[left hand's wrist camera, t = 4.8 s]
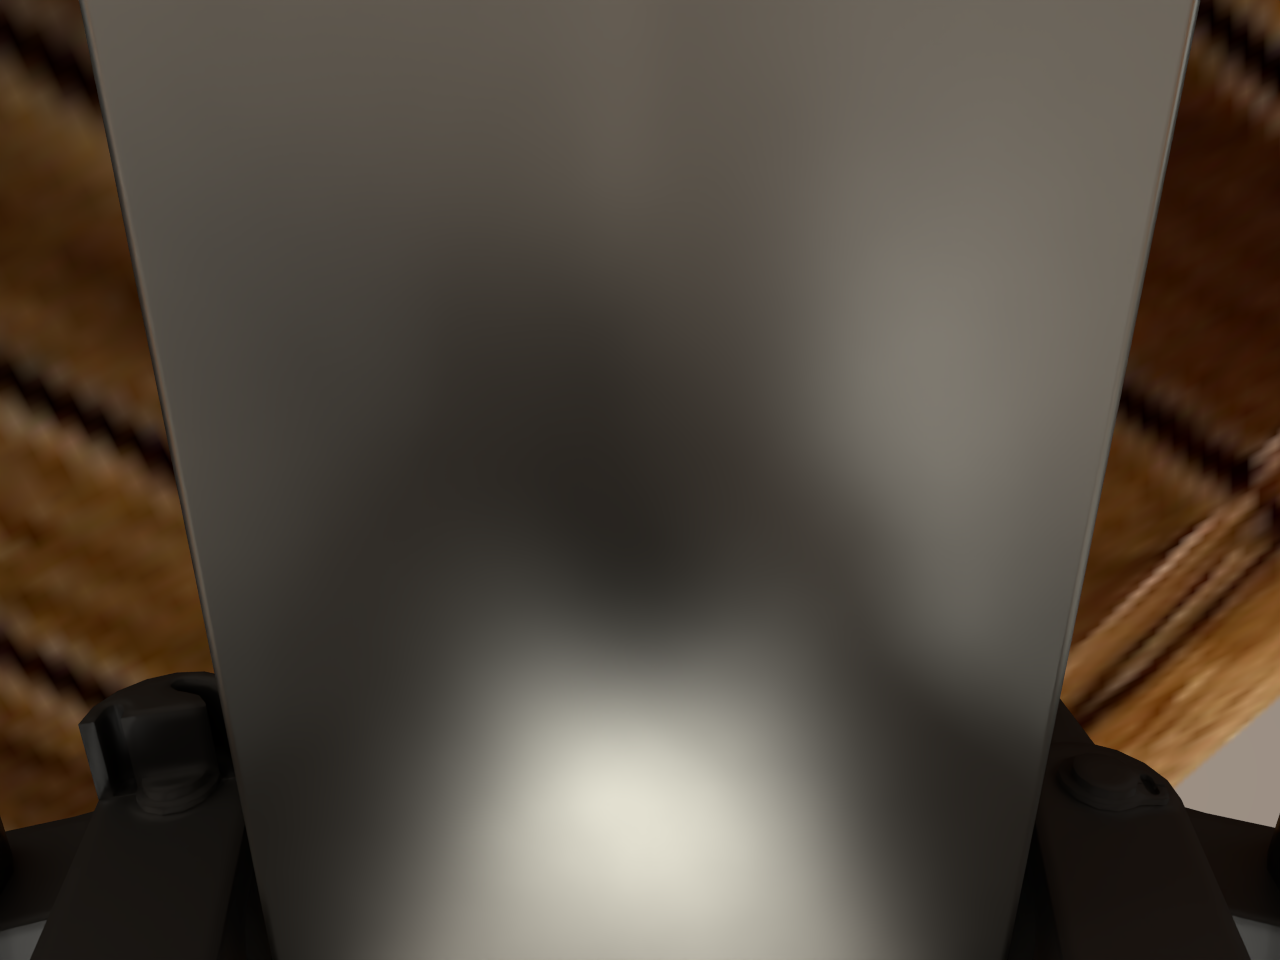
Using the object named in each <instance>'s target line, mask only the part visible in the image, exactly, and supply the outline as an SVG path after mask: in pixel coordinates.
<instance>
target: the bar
mask: <svg viewBox="0 0 1280 960" xmlns="http://www.w3.org/2000/svg"><path fill="white" fill-rule="evenodd" d="M79 3H80V8H81V13H82V18H83V23H84V28H85V33H86V38H87V43H88V48H89V53H90V57H91V62H92V67H93V72H94V77H95V82H96V87H97V92H98V97H99V102H100V107H101V112H102V117H103V122H104V127H105V132H106V137H107V142H108V147H109V152H110V157H111V162H112V167H113V172H114V177H115V181H116V186H117V191H118V196H119V201H120V206H121V211H122V216H123V221H124V226H125V231H126V236H127V241H128V246H129V251H130V256H131V261H132V266H133V271H134V276H135V281H136V286H137V291H138V296H139V300H140V305H141V310H142V315H143V320H144V325H145V330H146V335H147V340H148V345H149V350H150V355H151V360H152V365H153V370H154V375H155V380H156V385H157V390H158V395H159V400H160V405H161V410H162V415H163V420H164V424H165V429H166V434H167V439H168V444H169V449H170V454H171V459H172V464H173V469H174V474H175V479H176V484H177V489H178V494H179V499H180V504H181V509H182V514H183V519H184V524H185V529H186V534H187V539H188V544H189V548H190V553H191V558H192V563H193V568H194V573H195V578H196V583H197V588H198V593H199V598H200V603H201V608H202V613H203V618H204V623H205V628H206V633H207V638H208V643H209V648H210V653H211V658H212V663H213V667H214V672H215V677H216V682H217V687H218V692H219V697H220V702H221V707H222V712H223V717H224V722H225V727H226V732H227V737H228V742H229V747H230V752H231V757H232V762H233V767H234V772H235V777H236V782H237V787H238V791H239V796H240V801H241V806H242V811H243V816H244V821H245V826H246V831H247V836H248V841H249V846H250V851H251V856H252V861H253V866H254V871H255V876H256V881H257V886H258V891H259V896H260V901H261V906H262V910H263V915H264V920H265V925H266V930H267V935H268V940H269V945H270V950H271V955H272V960H1007V958H1008V953H1009V948H1010V943H1011V938H1012V933H1013V928H1014V923H1015V918H1016V913H1017V908H1018V903H1019V898H1020V893H1021V888H1022V883H1023V878H1024V873H1025V868H1026V863H1027V858H1028V853H1029V848H1030V843H1031V839H1032V834H1033V829H1034V824H1035V819H1036V814H1037V809H1038V804H1039V799H1040V794H1041V789H1042V784H1043V779H1044V774H1045V769H1046V764H1047V759H1048V754H1049V749H1050V744H1051V739H1052V734H1053V729H1054V724H1055V719H1056V714H1057V709H1058V704H1059V699H1060V694H1061V689H1062V685H1063V680H1064V675H1065V670H1066V665H1067V660H1068V655H1069V650H1070V645H1071V640H1072V635H1073V630H1074V625H1075V620H1076V615H1077V610H1078V605H1079V600H1080V595H1081V590H1082V585H1083V580H1084V575H1085V570H1086V565H1087V560H1088V555H1089V550H1090V545H1091V540H1092V536H1093V531H1094V526H1095V521H1096V516H1097V511H1098V506H1099V501H1100V496H1101V491H1102V486H1103V481H1104V476H1105V471H1106V466H1107V461H1108V456H1109V451H1110V446H1111V441H1112V436H1113V431H1114V426H1115V421H1116V416H1117V411H1118V406H1119V401H1120V396H1121V391H1122V386H1123V382H1124V377H1125V372H1126V367H1127V362H1128V357H1129V352H1130V347H1131V342H1132V337H1133V332H1134V327H1135V322H1136V317H1137V312H1138V307H1139V302H1140V297H1141V292H1142V287H1143V282H1144V277H1145V272H1146V267H1147V262H1148V257H1149V252H1150V247H1151V242H1152V237H1153V233H1154V228H1155V223H1156V218H1157V213H1158V208H1159V203H1160V198H1161V193H1162V188H1163V183H1164V178H1165V173H1166V168H1167V163H1168V158H1169V153H1170V148H1171V143H1172V138H1173V133H1174V128H1175V123H1176V118H1177V113H1178V108H1179V103H1180V98H1181V93H1182V88H1183V83H1184V79H1185V74H1186V69H1187V64H1188V59H1189V54H1190V49H1191V44H1192V39H1193V34H1194V29H1195V24H1196V19H1197V14H1198V9H1199V4H1200V0H79Z"/></svg>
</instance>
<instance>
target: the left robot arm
mask: <svg viewBox="0 0 1280 960" xmlns="http://www.w3.org/2000/svg"><path fill="white" fill-rule="evenodd" d="M78 725H79V729H80V733H81V736H82V740H83V744H84V747H85V751H86V755H87V758H88V762H89V766H90V769H91V773H92V777H93V780H94V784H95V788H96V791H97V795H98V799H99V802H98V804H97V806H96V808H95V811H93V812H90V813H86V814H83V815H79V816H76V817H71V818H67V819H62V820H57V821H53V822H48V823H43V824H39V825H34V826H29V827H25V828H20V829H15V830H11V831H6V832H5V830H4V827H3V823H2V820H1V817H0V960H272V955H271V950H270V945H269V940H268V935H267V930H266V925H265V920H264V915H263V910H262V906H261V901H260V896H259V891H258V886H257V881H256V876H255V871H254V866H253V861H252V856H251V851H250V846H249V841H248V836H247V831H246V826H245V821H244V816H243V811H242V806H241V801H240V796H239V791H238V787H237V782H236V777H235V772H234V767H233V762H232V757H231V752H230V747H229V742H228V737H227V732H226V727H225V722H224V717H223V712H222V707H221V702H220V697H219V692H218V687H217V682H216V677H215V674H213V673H209V672H180V673H173V674H168V675H164V676H160V677H155V678H151V679H146V680H144V681H141V682H139V683H137V684H134V685H132V686H129V687H127V688H124V689H122V690H119V691H117V692H116V693H114V694H113V695H111V696H109V697H108V698H106V699H105V700H103V701H102V702H100V703H99V704H97V705H96V706H94V707H93V708H92V709H91V710H90V711H89V713H88V714H87V715H86V716H85V717H84V718H83V720H82V721H81V722H80V723H79V724H78ZM1007 960H1280V815H1279V818H1278V821H1277V824H1276V827H1275V828H1273V827H1269V826H1264V825H1259V824H1254V823H1250V822H1245V821H1240V820H1236V819H1231V818H1226V817H1222V816H1217V815H1212V814H1207V813H1204V812H1200V811H1196V810H1193V809H1189V808H1185V807H1184V805H1183V802H1182V800H1181V798H1180V797H1179V796H1178V794H1177V793H1176V792H1175V790H1174V789H1173V787H1172V786H1171V785H1170V783H1169V782H1168V780H1166V779H1165V778H1164V777H1162V776H1161V775H1160V774H1158V773H1157V772H1156V771H1154V770H1153V769H1152V768H1150V767H1149V766H1148V765H1146V764H1145V763H1143V762H1141V761H1139V760H1137V759H1135V758H1133V757H1130V756H1128V755H1126V754H1124V753H1122V752H1120V751H1118V750H1114V749H1110V748H1106V747H1102V746H1099V745H1095V744H1094V743H1093V742H1092V740H1091V739H1090V738H1089V736H1088V735H1087V734H1086V732H1085V731H1084V730H1083V728H1082V727H1081V726H1080V724H1079V723H1078V722H1077V720H1076V719H1075V718H1074V717H1073V715H1072V714H1071V713H1070V711H1069V710H1068V709H1067V707H1066V706H1065V705H1064V703H1063V702H1062V701H1061V699H1059V704H1058V709H1057V714H1056V719H1055V724H1054V729H1053V734H1052V739H1051V744H1050V749H1049V754H1048V759H1047V764H1046V769H1045V774H1044V779H1043V784H1042V789H1041V794H1040V799H1039V804H1038V809H1037V814H1036V819H1035V824H1034V829H1033V834H1032V839H1031V843H1030V848H1029V853H1028V858H1027V863H1026V868H1025V873H1024V878H1023V883H1022V888H1021V893H1020V898H1019V903H1018V908H1017V913H1016V918H1015V923H1014V928H1013V933H1012V938H1011V943H1010V948H1009V953H1008V958H1007Z"/></svg>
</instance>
